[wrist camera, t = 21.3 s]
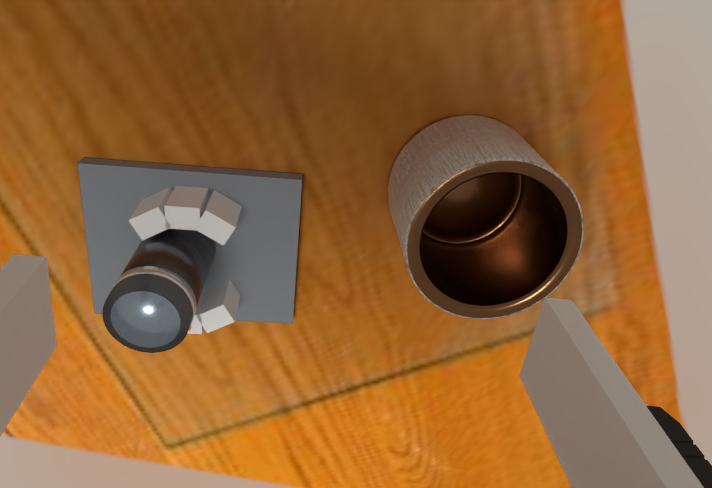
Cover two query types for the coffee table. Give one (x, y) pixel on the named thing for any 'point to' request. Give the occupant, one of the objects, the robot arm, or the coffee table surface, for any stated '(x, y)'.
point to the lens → (159, 290)
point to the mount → (206, 215)
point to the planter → (482, 218)
